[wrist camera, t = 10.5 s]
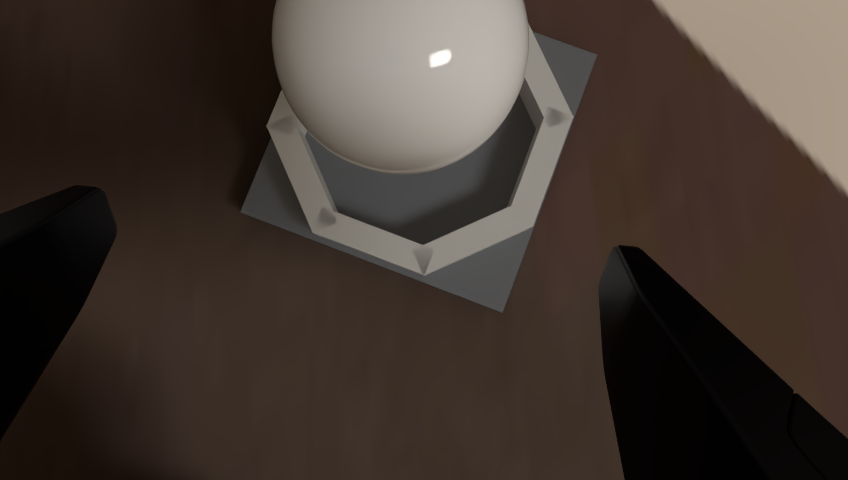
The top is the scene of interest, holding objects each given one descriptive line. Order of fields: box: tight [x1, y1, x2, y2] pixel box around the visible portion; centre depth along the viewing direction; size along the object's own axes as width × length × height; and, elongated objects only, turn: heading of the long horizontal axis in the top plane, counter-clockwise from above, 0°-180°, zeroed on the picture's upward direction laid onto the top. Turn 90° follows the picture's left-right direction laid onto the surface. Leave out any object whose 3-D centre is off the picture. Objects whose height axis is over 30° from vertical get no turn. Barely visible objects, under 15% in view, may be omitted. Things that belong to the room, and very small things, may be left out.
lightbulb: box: [272, 0, 529, 175], centre depth 16 cm, size 6×6×11 cm
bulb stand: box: [240, 24, 597, 313], centre depth 21 cm, size 11×11×2 cm
